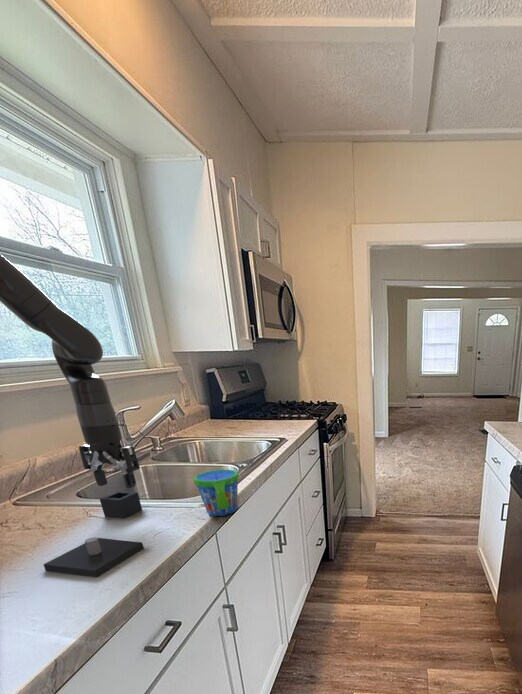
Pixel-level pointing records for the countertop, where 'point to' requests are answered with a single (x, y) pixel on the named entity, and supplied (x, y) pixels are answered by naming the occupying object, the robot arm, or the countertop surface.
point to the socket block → (121, 504)
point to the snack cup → (218, 491)
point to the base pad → (94, 557)
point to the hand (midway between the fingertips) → (117, 486)
